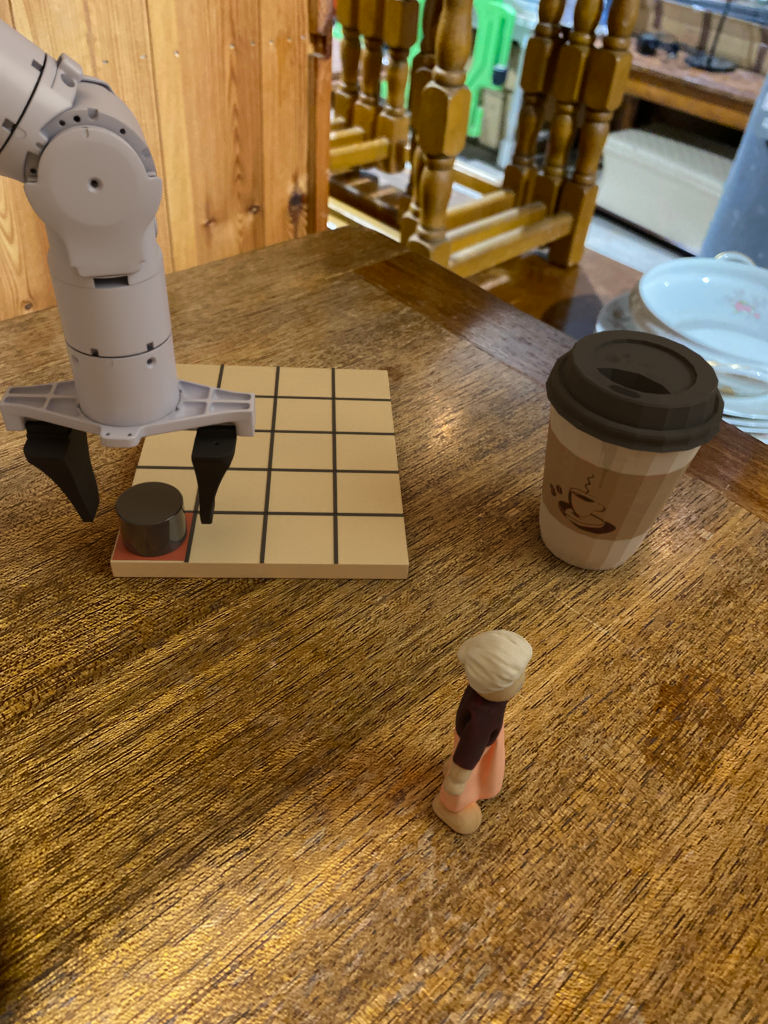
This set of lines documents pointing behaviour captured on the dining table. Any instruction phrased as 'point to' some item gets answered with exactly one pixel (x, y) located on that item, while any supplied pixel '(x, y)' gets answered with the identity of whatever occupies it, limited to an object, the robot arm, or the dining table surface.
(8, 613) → the dining table surface
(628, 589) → the dining table surface
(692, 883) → the dining table surface
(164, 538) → the dark grey cylinder
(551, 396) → the coffee cup
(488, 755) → the grandmother figurine
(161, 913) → the dining table surface
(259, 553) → the board
